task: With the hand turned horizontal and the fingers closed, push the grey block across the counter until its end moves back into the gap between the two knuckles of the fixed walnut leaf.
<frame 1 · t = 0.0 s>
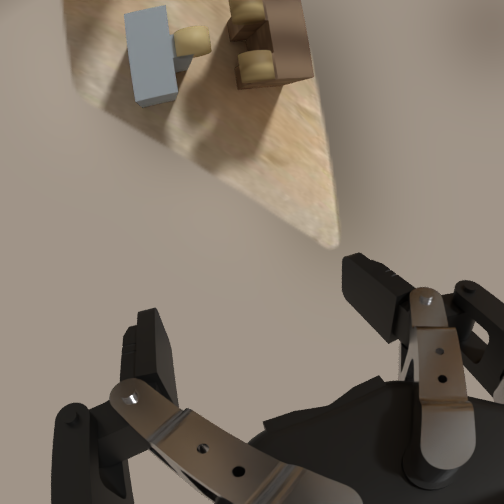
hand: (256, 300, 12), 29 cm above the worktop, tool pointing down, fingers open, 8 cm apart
fixed leaf: (232, 54, 33), on the worktop
grey block: (168, 54, 26), point 5 cm above the worktop, slide at 6.0 cm
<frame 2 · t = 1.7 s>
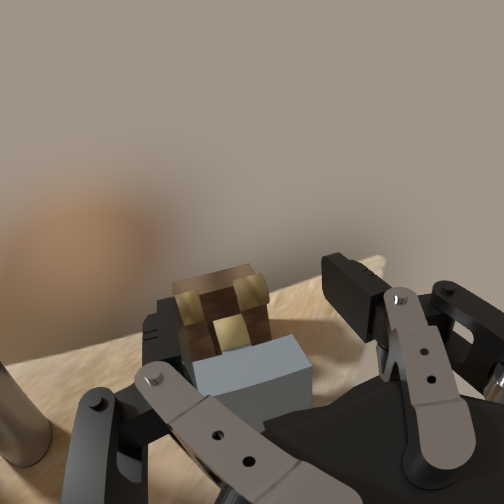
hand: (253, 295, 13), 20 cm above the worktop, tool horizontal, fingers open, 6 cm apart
fixed leaf: (234, 358, 36), on the worktop
grey block: (244, 378, 26), point 5 cm above the worktop, slide at 6.0 cm
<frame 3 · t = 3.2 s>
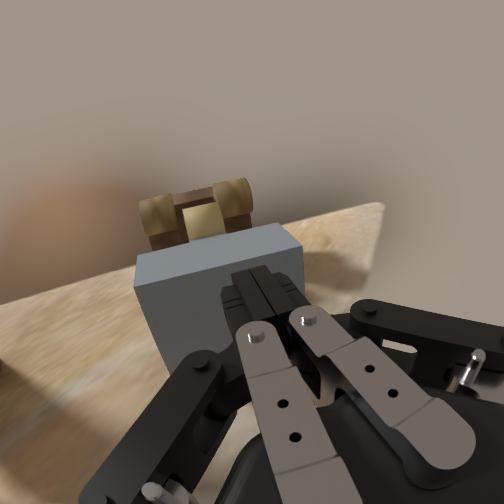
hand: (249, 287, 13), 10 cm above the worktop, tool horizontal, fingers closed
fixed leaf: (213, 287, 32), on the worktop
grey block: (218, 284, 22), point 5 cm above the worktop, slide at 6.0 cm
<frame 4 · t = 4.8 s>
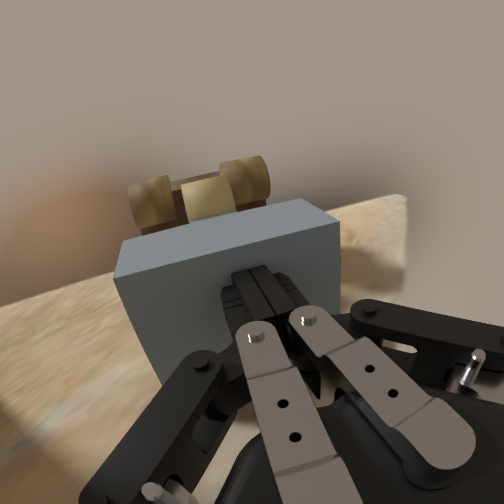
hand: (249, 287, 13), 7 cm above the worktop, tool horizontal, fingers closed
fixed leaf: (220, 292, 26), on the worktop
grey block: (226, 278, 17), point 5 cm above the worktop, slide at 4.9 cm, touching gripper
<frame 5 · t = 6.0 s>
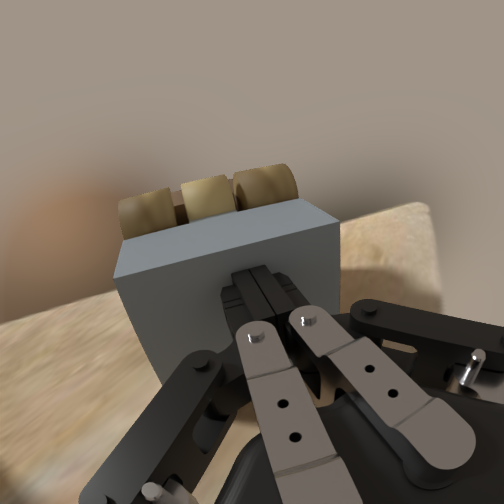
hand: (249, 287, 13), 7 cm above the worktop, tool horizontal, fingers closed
fixed leaf: (233, 325, 22), on the worktop
grey block: (226, 278, 17), point 5 cm above the worktop, slide at -0.1 cm, touching gripper
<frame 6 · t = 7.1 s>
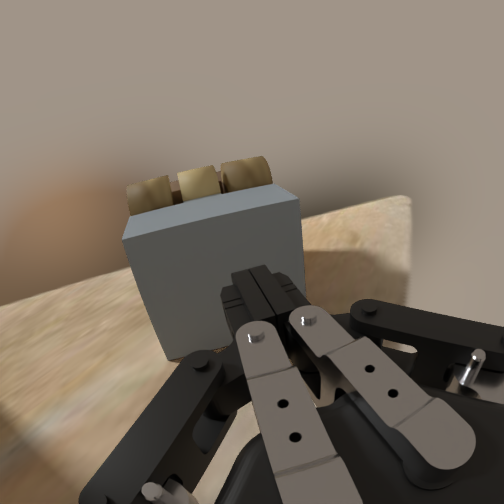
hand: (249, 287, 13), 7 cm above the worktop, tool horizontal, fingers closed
fixed leaf: (221, 295, 25), on the worktop
grey block: (213, 249, 21), point 5 cm above the worktop, slide at 0.0 cm
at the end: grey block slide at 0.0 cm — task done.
